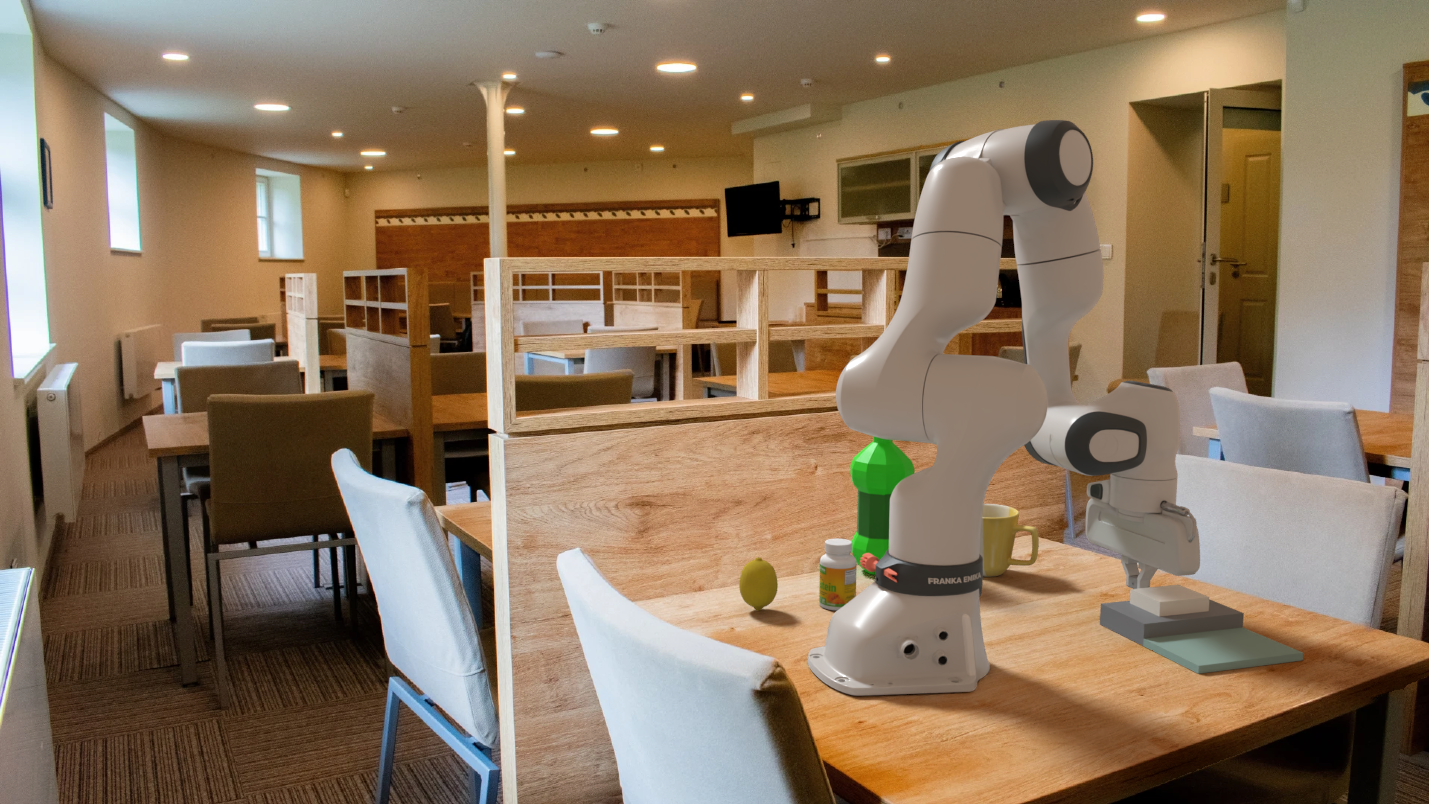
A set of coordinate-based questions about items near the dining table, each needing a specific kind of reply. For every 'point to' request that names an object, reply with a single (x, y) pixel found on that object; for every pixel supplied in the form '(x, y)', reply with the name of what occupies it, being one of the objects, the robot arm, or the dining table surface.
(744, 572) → the lemon
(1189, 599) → the tile
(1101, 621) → the plate
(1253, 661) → the mat
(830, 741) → the dining table surface
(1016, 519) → the mug
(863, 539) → the plastic bottle
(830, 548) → the supplement bottle
